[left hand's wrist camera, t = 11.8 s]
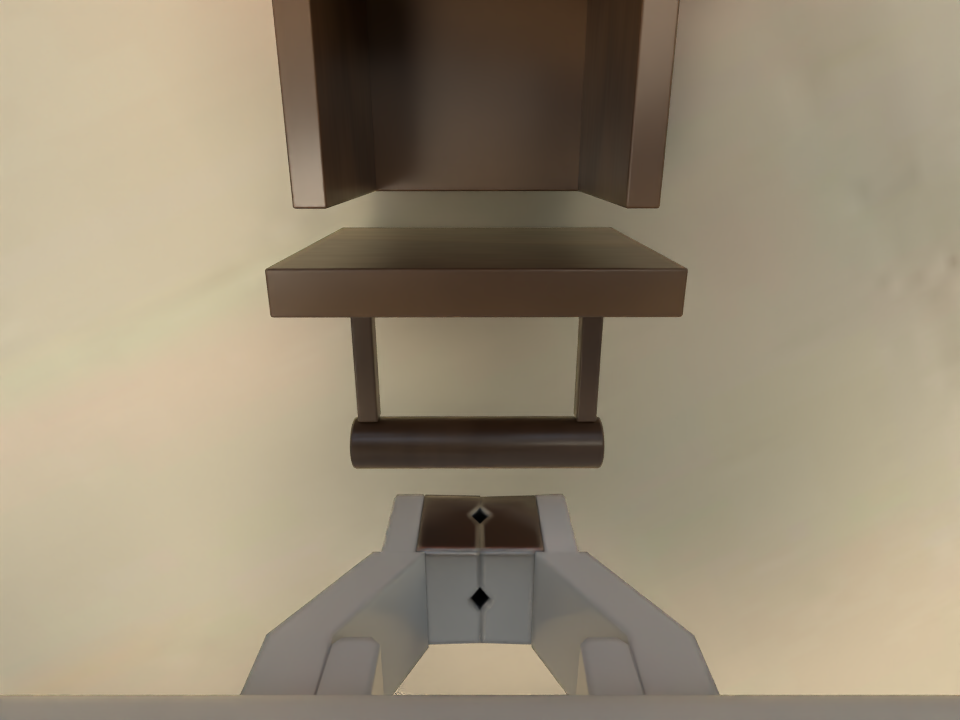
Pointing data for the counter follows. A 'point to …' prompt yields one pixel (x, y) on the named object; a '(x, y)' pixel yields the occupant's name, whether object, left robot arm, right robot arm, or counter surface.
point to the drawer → (476, 189)
